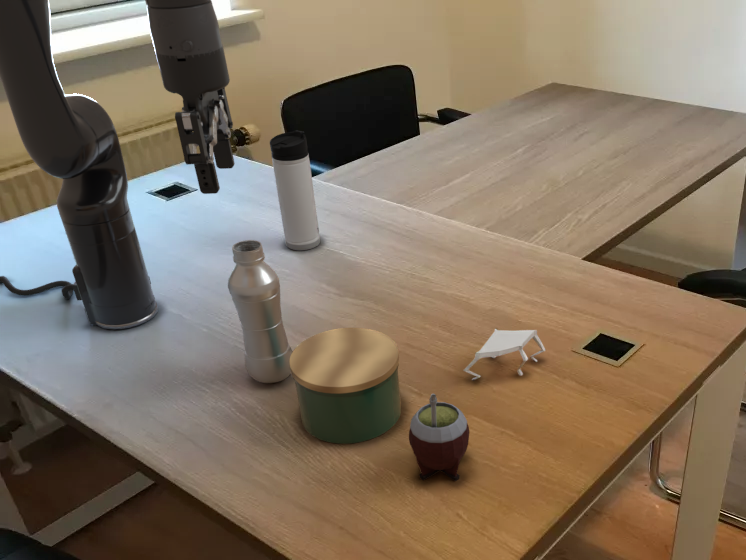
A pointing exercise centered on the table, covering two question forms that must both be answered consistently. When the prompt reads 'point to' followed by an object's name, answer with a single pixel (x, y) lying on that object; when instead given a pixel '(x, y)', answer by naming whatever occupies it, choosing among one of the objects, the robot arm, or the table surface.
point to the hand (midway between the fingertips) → (218, 179)
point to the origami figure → (506, 346)
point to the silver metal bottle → (259, 313)
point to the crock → (347, 384)
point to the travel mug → (295, 190)
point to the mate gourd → (438, 438)
